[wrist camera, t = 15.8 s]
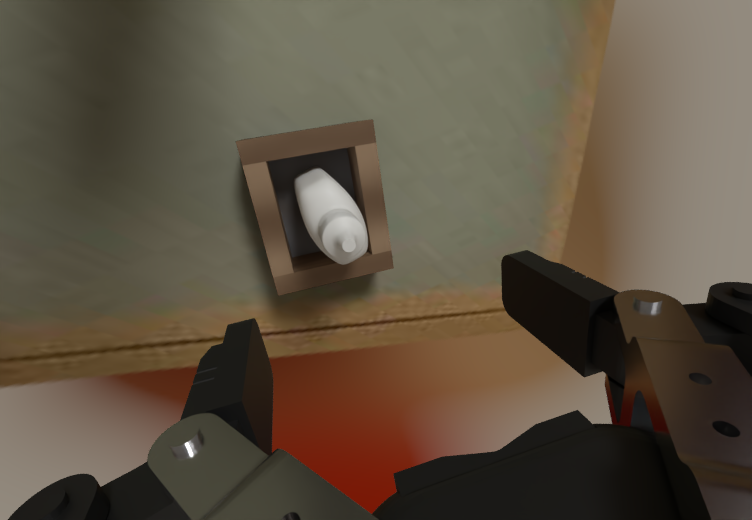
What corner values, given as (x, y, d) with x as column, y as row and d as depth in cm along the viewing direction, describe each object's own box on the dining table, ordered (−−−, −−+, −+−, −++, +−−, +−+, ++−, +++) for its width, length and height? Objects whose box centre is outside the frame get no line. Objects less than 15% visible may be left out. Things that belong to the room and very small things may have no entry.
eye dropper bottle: (294, 236, 29) (305, 299, 18) (293, 164, 28) (303, 188, 17) (348, 235, 30) (388, 294, 20) (349, 166, 29) (394, 188, 18)
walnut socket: (242, 139, 27) (235, 141, 23) (359, 121, 29) (372, 119, 25) (278, 273, 31) (278, 295, 27) (379, 250, 33) (393, 268, 29)
